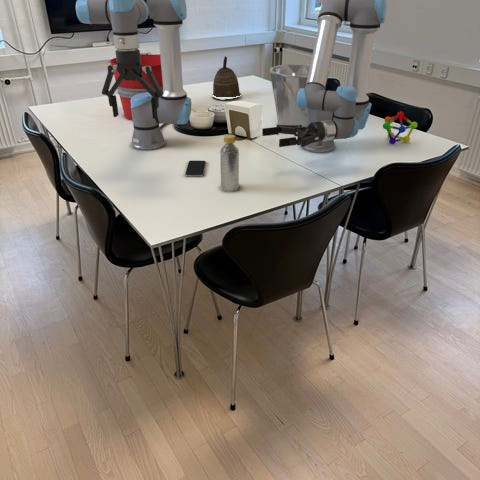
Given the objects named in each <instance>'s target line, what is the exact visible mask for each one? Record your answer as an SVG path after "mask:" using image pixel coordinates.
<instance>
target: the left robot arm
mask: <svg viewBox="0 0 480 480" xmlns="http://www.w3.org/2000/svg"><path fill="white" fill-rule="evenodd" d="M187 11H188V9H187V3H186V0H76V2H75V13H76V17H77V19H78V21H79V22H80V23H82V24H89V25H111V28H112V37H113V43H114V48H115V52H114V53H115V58H116V60H117V66H114V65H113V64H111V63H110V65H107V74H106V78H105V81H104V84H103V86H102V90H101V94H102V95H104V96H107V98H108V105H109V107H111V108H112V114H113V118H117V117H118V116H119V115H120V114H119V108H118V107H119V106H118V101H117V95H116V94H115V93H116V91H118V89H117V88H118V87H119V85H120V84H121V82H122V81H123V80H125V81H128V80H132V81H135V80H137V81H138V82H140V83H141V84H142V85H143V87H144V88H145V89H146V90H147V91H148V92H145V93H140V94H136V95H134V96H133V97H132V98H131V111H132V118H133V120H132V125H133V132H132V135H131V147H132V148H134V149H135V150H141V151H151V150H153V151H154V150H157V149H161V148H163V147H164V146H165V144H166V140H165V137H164V135H163V132H162V128H163V127H165V126H167V125H177V126H179V125H186V124H188V122H189V120H190V118H191V113H192V99H191V97H189V96H188V93H187V91H185V89H184V84H183V67H182V51H181V50H182V49H181V34H180V33H181V31H180V29H181V28H182V26H183V25H184V23H183V21H184V20H186V19H187V15H188V13H187ZM146 20H153V26H154V27H155V28H156V29H157V32H158V44H159V55H160V57H161V69H162V81H163V90H162V89H161V87H160V85H159V83H158V82H157V80H156V78H155V76H154V74H153V73H152V68H151V66H150V65H149V66H146V67H142V65H141V57H140V54H141V50H140V49H139V48H140V42H139V41H140V39H139V31H138V25H141V24H143V23H144V22H146ZM116 70H117V71H118V73H119V74H120V75H119V77H118V78H117V80H115V82H114V84H112V81H113V77H114V72H115V71H116ZM142 71H144V72H145V73H146V74H147V76H148V78H149V80H150V82H151V83H152V85H153V87H154V89H155V90H154V89H153V88H152V86H151V85H150V84H149V83H148V82H147V81H146V79H145V78H144V76H143V75H142V74H141V73H142ZM111 84H112V85H111ZM110 86H111V88H110ZM160 124H161V125H160Z"/></svg>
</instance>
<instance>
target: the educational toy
mask: <svg viewBox="0 0 480 480" xmlns="http://www.w3.org/2000/svg"><path fill="white" fill-rule="evenodd" d="M397 119H399V124H400V125H399V127H398V126H393V125H391V124H392V123H394V122H395V121H396V120H397ZM403 120H404V121H405V122H407V123H408V124H409V125H407V126H404V123H403ZM417 127H418V122H417V121H411V120H410V119H409V118H408V117H406V116H405V113H404V112H403V111H401V110H400V111H398V112H397V114H396V115H394V116H391V117H390V116H386V117H385V118H384V122H383V123H382V129H383V130H386V132H387V138H388V142H389V145H395V144H396V143H397V142H402V141H403V142H404V143H409V142H410V140H411V138H410V136H411V134H412V132H413V131H414V130H415V129H417ZM392 129H393V130H397V131H398V132H396V134H395V133H394V132H392ZM408 129H409V131H408V133H407V134H406V135H404V136H401V134H403V133H405V132H406V130H408ZM399 135H400V136H399Z"/></svg>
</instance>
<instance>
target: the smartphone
mask: <svg viewBox="0 0 480 480" xmlns="http://www.w3.org/2000/svg"><path fill="white" fill-rule="evenodd" d="M206 163H207V161H206V160H189V161H188V163H187V166H186V170H185V174H184V175H185V177H203V176H204V174H205V169H206Z"/></svg>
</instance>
